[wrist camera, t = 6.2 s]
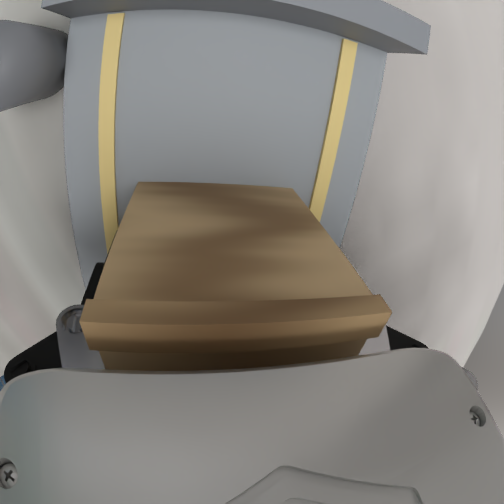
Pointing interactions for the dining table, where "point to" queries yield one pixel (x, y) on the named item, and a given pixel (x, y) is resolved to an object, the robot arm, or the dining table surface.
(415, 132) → the dining table surface
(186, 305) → the block
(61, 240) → the dining table surface
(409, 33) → the bay
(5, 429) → the robot arm
